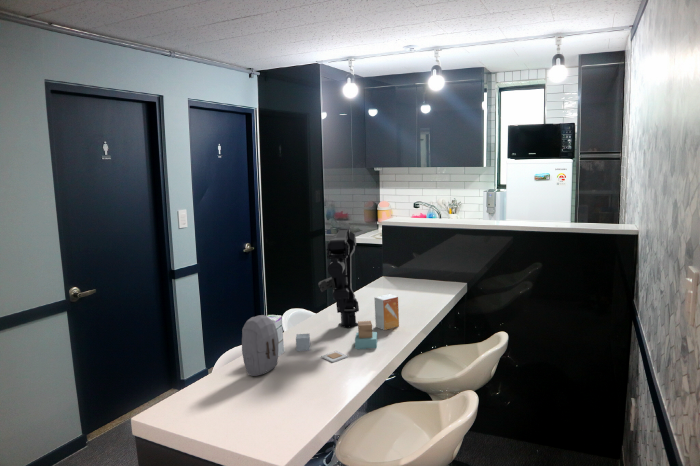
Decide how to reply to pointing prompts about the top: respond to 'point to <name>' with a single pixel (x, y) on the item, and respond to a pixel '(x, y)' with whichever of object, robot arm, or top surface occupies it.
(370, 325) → the walnut cube
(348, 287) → the robot arm
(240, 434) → the top surface
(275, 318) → the syrup box
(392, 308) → the small box
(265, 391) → the top surface
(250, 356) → the soft grey pack
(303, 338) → the grey cube
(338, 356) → the tile
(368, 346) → the teal base block
